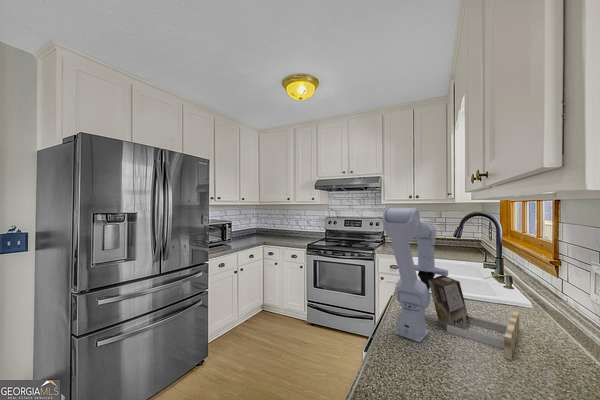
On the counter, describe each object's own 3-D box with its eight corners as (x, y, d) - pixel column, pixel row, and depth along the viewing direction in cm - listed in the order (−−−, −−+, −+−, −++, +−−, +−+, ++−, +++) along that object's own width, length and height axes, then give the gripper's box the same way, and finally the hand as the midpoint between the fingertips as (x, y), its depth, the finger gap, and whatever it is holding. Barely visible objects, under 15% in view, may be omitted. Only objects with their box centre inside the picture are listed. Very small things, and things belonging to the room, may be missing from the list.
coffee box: (471, 327, 87) (460, 281, 87) (454, 332, 87) (443, 286, 86) (453, 315, 96) (442, 274, 96) (437, 320, 96) (427, 279, 95)
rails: (506, 350, 76) (506, 341, 76) (446, 331, 87) (446, 324, 87) (512, 333, 85) (511, 326, 85) (457, 319, 96) (457, 312, 97)
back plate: (511, 360, 71) (510, 338, 71) (504, 358, 72) (504, 336, 72) (519, 329, 88) (518, 312, 88) (513, 328, 89) (513, 311, 89)
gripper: (450, 256, 96) (450, 292, 96) (411, 251, 106) (411, 284, 106) (444, 260, 91) (445, 298, 91) (404, 254, 101) (404, 288, 101)
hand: (426, 291), depth 98 cm, fingers closed
